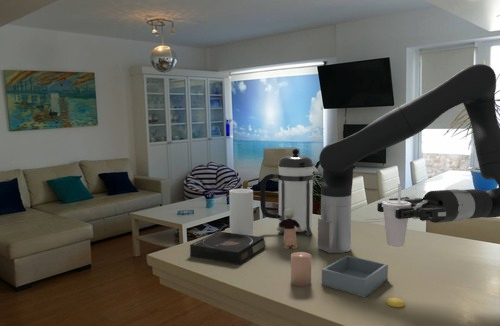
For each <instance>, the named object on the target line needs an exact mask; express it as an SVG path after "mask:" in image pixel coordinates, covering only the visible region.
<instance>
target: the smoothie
mask: <svg viewBox="0 0 500 326" xmlns="http://www.w3.org/2000/svg"><path fill="white" fill-rule="evenodd" d="M397 186H398V187H397V198H398V200H389V199H387V200H383V201H381V202H382V207H383V210H384V212H383V217H384V218H383V220H384V228H385V229H384V230H385V237H386V245H387V246H391V247H403V246H405V241H406V235H407V228H408V223H409V218H406V219H397V218H396V217H395V213H396V209H398V208H411V203H410V202H406V201H400V198H402V197H401V196H402V195H401V194H402V188H401V187H402V183H398V184H397Z"/></svg>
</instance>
